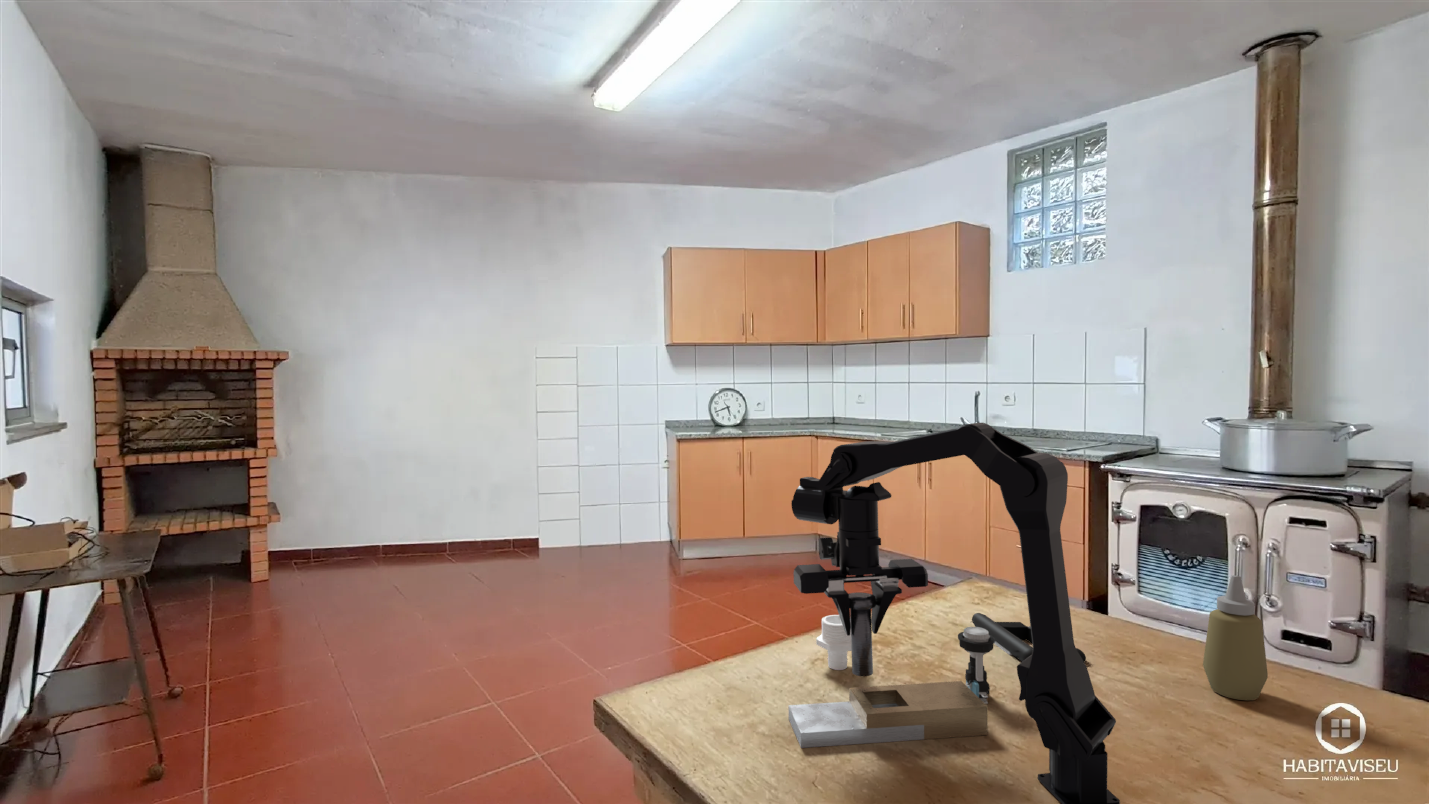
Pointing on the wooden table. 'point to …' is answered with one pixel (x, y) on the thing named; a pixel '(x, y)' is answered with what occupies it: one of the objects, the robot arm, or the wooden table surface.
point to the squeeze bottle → (1235, 646)
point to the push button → (976, 659)
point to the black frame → (1010, 636)
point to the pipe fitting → (835, 642)
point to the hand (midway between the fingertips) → (861, 633)
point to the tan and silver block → (892, 715)
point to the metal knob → (861, 632)
